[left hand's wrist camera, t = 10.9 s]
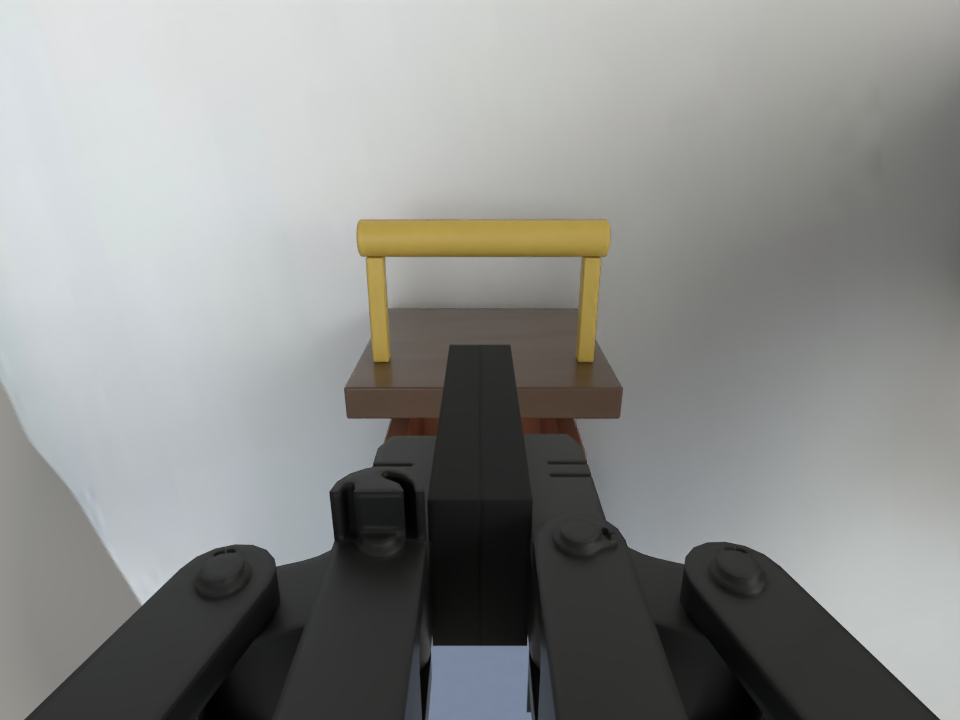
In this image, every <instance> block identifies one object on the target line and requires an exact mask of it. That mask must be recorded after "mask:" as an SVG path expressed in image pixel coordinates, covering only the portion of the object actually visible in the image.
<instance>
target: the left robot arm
mask: <svg viewBox="0 0 960 720" xmlns="http://www.w3.org/2000/svg"><path fill="white" fill-rule="evenodd" d="M330 502H331V511H332V520H333V529H334V538H335V541H334V544H333V547H332V550H330V551H328V552H326V553H324V554H322V555H320V556H317V557H314V558H311V559H307V560H304V561H300V562H295V563H291V564H286V565H282V566H278V567H276V565H275V559H274V558H273V557H272V556H271V554H270V553H269V552H268V551H267V550H265V549H262V548H260V547H257V546H254V545H230V546H226V547H221V548H216V549H214V550H211V551H209V552H207V553H204V554H202V555H200V556H198V557H196V558H195V559H193V560H192V561H190V562H189V563H188V564H186V565H185V566H184V567H182V568H181V569H180V570H179V571H178V572H177V573H176V574H175V575H174V576H173V577H172V578H171V579H170V580H168V581H167V582H166V583H165V584H164V585H163V586H162V587H161V588H160V589H159V590H158V591H157V592H156V593H155V594H154V595H153V596H152V597H151V598H150V599H149V600H148V601H147V602H146V603H145V604H144V605H143V606H142V607H141V608H140V609H138V611H136V612H135V613H134V614H133V615H132V616H131V617H130V618H129V619H128V620H127V621H126V622H125V623H124V624H123V625H122V626H121V627H120V628H119V629H118V630H117V631H116V632H115V633H114V634H113V635H112V636H111V637H110V638H108V639H107V640H106V641H105V642H104V643H103V644H102V645H101V646H100V647H99V648H98V649H97V650H96V651H95V652H94V653H93V654H92V655H91V656H90V657H89V658H88V659H87V660H86V661H85V662H84V663H83V664H82V665H81V666H80V667H78V668H77V669H76V670H75V671H74V672H73V673H72V674H71V675H70V676H69V677H68V678H67V679H66V680H65V681H64V682H63V683H62V684H61V685H60V686H59V687H58V688H57V689H56V690H55V691H54V692H53V693H52V694H51V695H50V696H48V697H47V698H46V699H45V700H44V701H43V702H42V703H41V704H40V705H39V706H38V707H37V708H36V709H35V710H34V711H33V712H32V713H31V714H30V715H29V716H28V717H27V718H26V719H25V720H428V717H429V706H430V694H431V682H432V663H431V646H432V638H433V646H527V638H528V643H529V663H528V688H527V712H531V717H532V720H940V719H939V718H938V717H937V716H936V715H935V714H934V713H933V712H932V711H930V710H929V709H928V708H927V707H926V706H925V705H924V704H923V703H922V702H921V701H920V700H919V699H918V698H917V697H916V696H915V695H914V694H913V693H912V692H911V691H910V690H909V689H908V688H906V687H905V686H904V685H903V684H902V683H901V682H900V681H899V680H898V679H897V678H896V677H895V676H894V675H893V674H892V673H891V672H890V671H889V670H888V669H887V668H886V667H885V666H884V665H883V664H881V663H880V662H879V661H878V660H877V659H876V658H875V657H874V656H873V655H872V654H871V653H870V652H869V651H868V650H867V649H866V648H865V647H864V646H863V645H862V644H861V643H860V642H859V641H857V640H856V639H855V638H854V637H853V636H852V635H851V634H850V633H849V632H848V631H847V630H846V629H845V628H844V627H843V626H842V625H841V624H840V623H839V622H838V621H837V620H836V619H835V618H834V617H832V616H831V615H830V614H829V613H828V612H827V611H826V610H825V609H824V608H823V607H822V606H821V605H820V604H819V603H818V602H817V601H816V600H815V599H814V598H813V597H812V596H811V595H810V594H808V593H807V592H806V591H805V590H804V589H803V588H802V587H801V586H800V585H799V584H798V583H797V582H796V581H795V580H794V579H793V578H792V577H791V576H790V575H789V574H788V573H787V572H786V571H785V570H783V569H782V568H781V567H780V566H779V565H778V564H776V563H775V562H774V561H772V560H771V559H770V558H768V557H767V556H765V555H764V554H762V553H760V552H757V551H755V550H753V549H750V548H748V547H746V546H742V545H737V544H733V543H728V542H708V543H705V544H702V545H699V546H697V547H694V548H693V549H692V550H691V551H690V552H689V553H688V555H687V556H686V558H685V565H684V564H680V563H676V562H671V561H667V560H662V559H658V558H654V557H651V556H647V555H644V554H641V553H639V552H637V551H635V550H633V549H631V548H629V547H628V546H627V543H626V541H625V539H624V537H623V536H622V534H621V533H620V531H619V530H618V529H617V528H616V527H614V526H613V525H612V524H610V523H609V522H607V521H606V519H605V516H604V513H603V510H602V507H601V504H600V500H599V497H598V494H597V491H596V488H595V485H594V482H593V479H592V477H591V473H590V470H589V467H588V465H587V460H586V457H585V454H584V451H583V448H582V446H581V445H580V444H578V443H577V442H576V441H575V440H574V439H573V438H572V437H571V436H569V435H568V434H523V429H522V422H521V415H520V408H519V401H518V394H517V387H516V380H515V373H514V366H513V359H512V352H511V345H449V352H448V359H447V366H446V373H445V380H444V387H443V394H442V401H441V408H440V415H439V422H438V429H437V436H392V437H390V438H389V439H388V440H387V441H386V442H385V443H384V444H383V445H381V446H380V447H379V448H378V450H377V454H376V457H375V460H374V463H373V467H372V468H366V469H363V470H360V471H357V472H354V473H351V474H349V475H347V476H346V477H344V478H342V479H341V480H339V481H338V482H337V483H336V484H335V485H334V487H333V488H332V489H331V490H330Z"/></svg>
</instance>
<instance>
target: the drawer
mask: <svg viewBox="0 0 960 720" xmlns="http://www.w3.org/2000/svg"><path fill="white" fill-rule="evenodd" d="M357 246H358V251H359V254H360V256H362V257H367V258H366V268H367V282H368V296H369V311H370V325H371V339H370V341H369V343H368V345H367V347H366V349H365V350H364V352H363V354H362V356H361V358H360V360H359V362H358V364H357V365H356V367H355V369H354V371H353V373H352V375H351V377H350V379H349V381H348V382H347V384H346V386H345V388H344V391H345V402H346V413H347V418H391V421H390V425H389V428H388V431H387V434H386V438H385V441H384V443H385V442H386V441H387V440H388V439H389V438H390V437H392V436H437V429H438V422H439V415H440V408H441V401H442V394H443V387H444V380H445V373H446V366H447V359H448V352H449V345H511V352H512V359H513V366H514V373H515V380H516V387H517V394H518V401H519V408H520V415H521V422H522V429H523V434H568V435H569V436H571V437H572V438H573V439H574V440H575V441H576V442H577V443H578V444H580V445H581V446H582V448H583V451H584V454H585V457H586V453H585V450H584V447H583V444H582V441H581V438H580V435H579V431H578V428H577V425H576V422H575V419H574V418H620V413H621V403H622V393H623V388H622V386H621V384H620V382H619V381H618V379H617V377H616V375H615V374H614V372H613V370H612V368H611V366H610V365H609V363H608V361H607V359H606V358H605V356H604V354H603V352H602V350H601V349H600V347H599V345H598V343H597V341H596V340H595V334H596V320H597V307H598V294H599V280H600V267H601V258H600V257H605V256H607V254H608V251H609V247H610V225H609V222H608V220H359V222H358V225H357ZM385 257H582V263H581V279H580V295H579V309H388V302H387V285H386V268H385Z"/></svg>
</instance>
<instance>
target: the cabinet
mask: <svg viewBox="0 0 960 720" xmlns="http://www.w3.org/2000/svg"><path fill="white" fill-rule="evenodd" d="M431 663H432V682H431V694H430V706H429V717H428V720H532V717H531V712H527V688H528V663H529V643H528V638H527V646H433V638H432V646H431Z"/></svg>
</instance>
